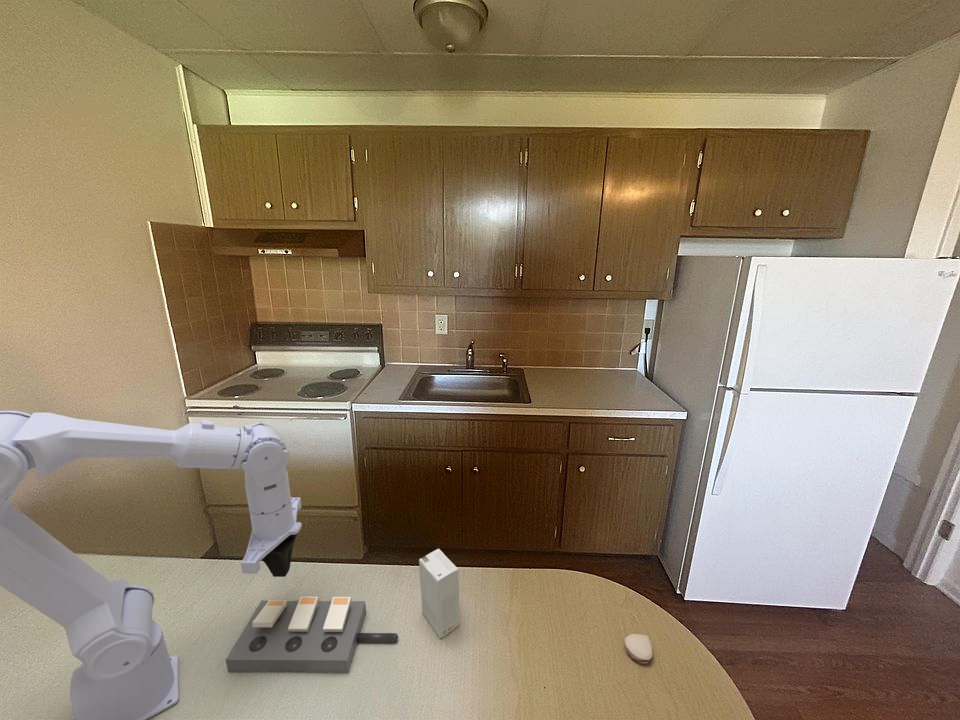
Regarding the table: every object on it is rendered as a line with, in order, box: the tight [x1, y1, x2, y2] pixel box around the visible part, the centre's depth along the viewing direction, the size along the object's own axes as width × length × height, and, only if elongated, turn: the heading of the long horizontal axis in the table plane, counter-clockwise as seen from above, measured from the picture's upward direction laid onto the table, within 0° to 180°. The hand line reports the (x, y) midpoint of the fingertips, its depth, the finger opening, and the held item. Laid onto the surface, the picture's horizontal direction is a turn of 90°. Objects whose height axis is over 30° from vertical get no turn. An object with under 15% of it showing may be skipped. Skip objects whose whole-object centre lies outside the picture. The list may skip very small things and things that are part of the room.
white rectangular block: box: [252, 599, 288, 627], centre depth 63 cm, size 3×5×1 cm, turn 1°
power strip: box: [225, 599, 399, 674], centre depth 63 cm, size 25×10×3 cm, turn 91°
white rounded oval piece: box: [623, 633, 653, 664], centre depth 62 cm, size 4×5×2 cm
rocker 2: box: [323, 596, 352, 632], centre depth 63 cm, size 3×5×1 cm, turn 1°
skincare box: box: [418, 548, 461, 639], centre depth 65 cm, size 6×4×12 cm
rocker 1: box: [288, 596, 320, 632], centre depth 63 cm, size 3×5×1 cm, turn 1°
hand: (281, 573), depth 63 cm, fingers closed
